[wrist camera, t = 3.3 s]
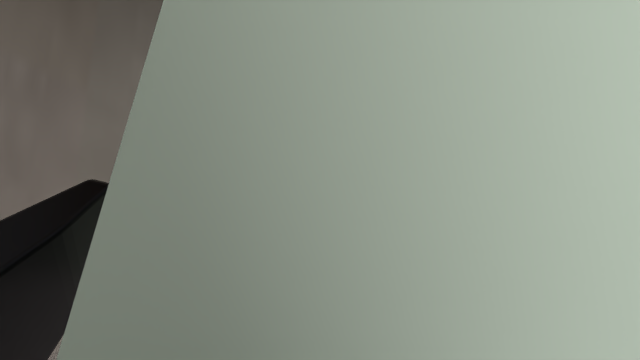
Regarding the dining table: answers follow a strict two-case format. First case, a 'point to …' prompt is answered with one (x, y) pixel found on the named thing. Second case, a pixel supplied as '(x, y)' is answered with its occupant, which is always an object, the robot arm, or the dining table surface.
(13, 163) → the dining table surface
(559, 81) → the pillar
